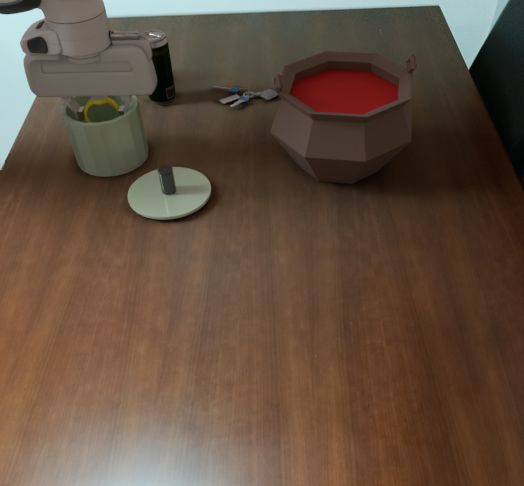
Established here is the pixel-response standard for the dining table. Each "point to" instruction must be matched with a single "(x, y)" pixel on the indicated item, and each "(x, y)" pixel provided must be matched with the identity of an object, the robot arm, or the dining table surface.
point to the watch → (98, 101)
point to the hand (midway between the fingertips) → (103, 118)
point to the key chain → (265, 94)
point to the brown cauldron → (344, 113)
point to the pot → (107, 137)
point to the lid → (169, 193)
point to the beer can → (161, 68)
